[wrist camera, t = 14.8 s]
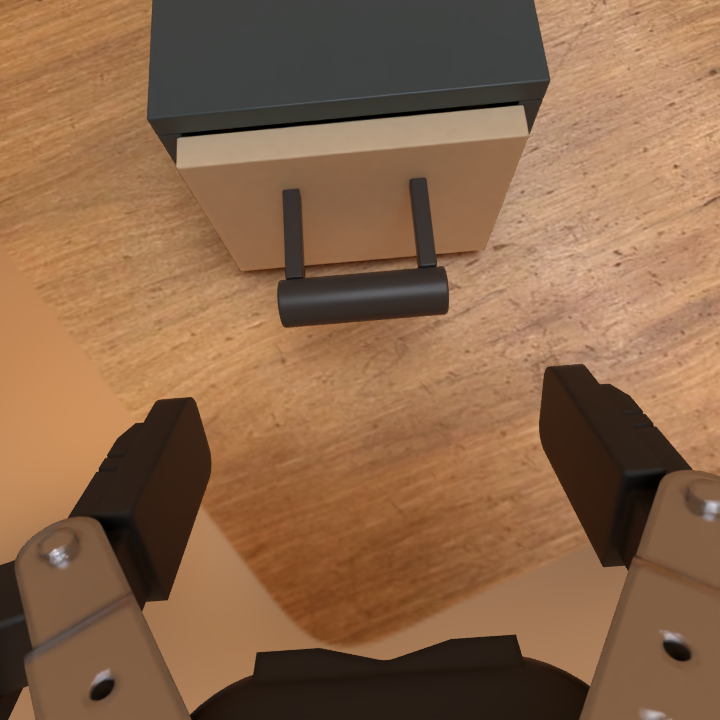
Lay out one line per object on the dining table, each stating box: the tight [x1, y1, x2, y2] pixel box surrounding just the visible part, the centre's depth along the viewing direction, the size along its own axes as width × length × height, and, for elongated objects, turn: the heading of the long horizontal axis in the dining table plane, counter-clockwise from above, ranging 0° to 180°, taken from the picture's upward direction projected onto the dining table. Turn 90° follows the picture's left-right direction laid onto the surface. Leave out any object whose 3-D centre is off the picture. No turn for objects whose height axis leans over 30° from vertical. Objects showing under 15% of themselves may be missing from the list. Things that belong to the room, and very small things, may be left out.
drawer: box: [176, 104, 529, 328], centre depth 21 cm, size 18×11×8 cm, turn 4°
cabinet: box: [147, 0, 550, 235], centre depth 23 cm, size 15×13×10 cm
